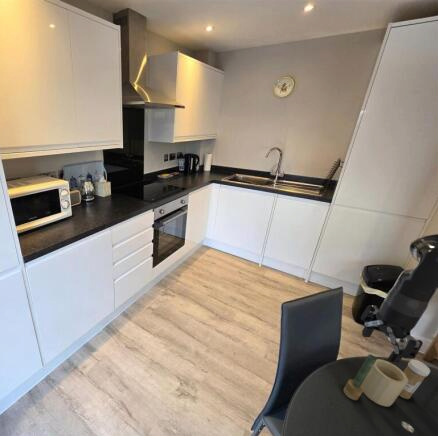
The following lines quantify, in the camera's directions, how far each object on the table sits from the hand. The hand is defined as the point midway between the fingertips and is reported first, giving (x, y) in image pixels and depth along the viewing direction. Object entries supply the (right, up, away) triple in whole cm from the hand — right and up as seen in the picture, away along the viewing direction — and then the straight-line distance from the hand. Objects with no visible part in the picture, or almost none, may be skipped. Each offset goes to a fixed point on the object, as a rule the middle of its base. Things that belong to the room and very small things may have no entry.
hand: (377, 348), depth 73 cm
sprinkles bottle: (+17, -20, +10) cm, 28 cm away
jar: (+8, -20, +9) cm, 23 cm away
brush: (-1, -20, +8) cm, 21 cm away
